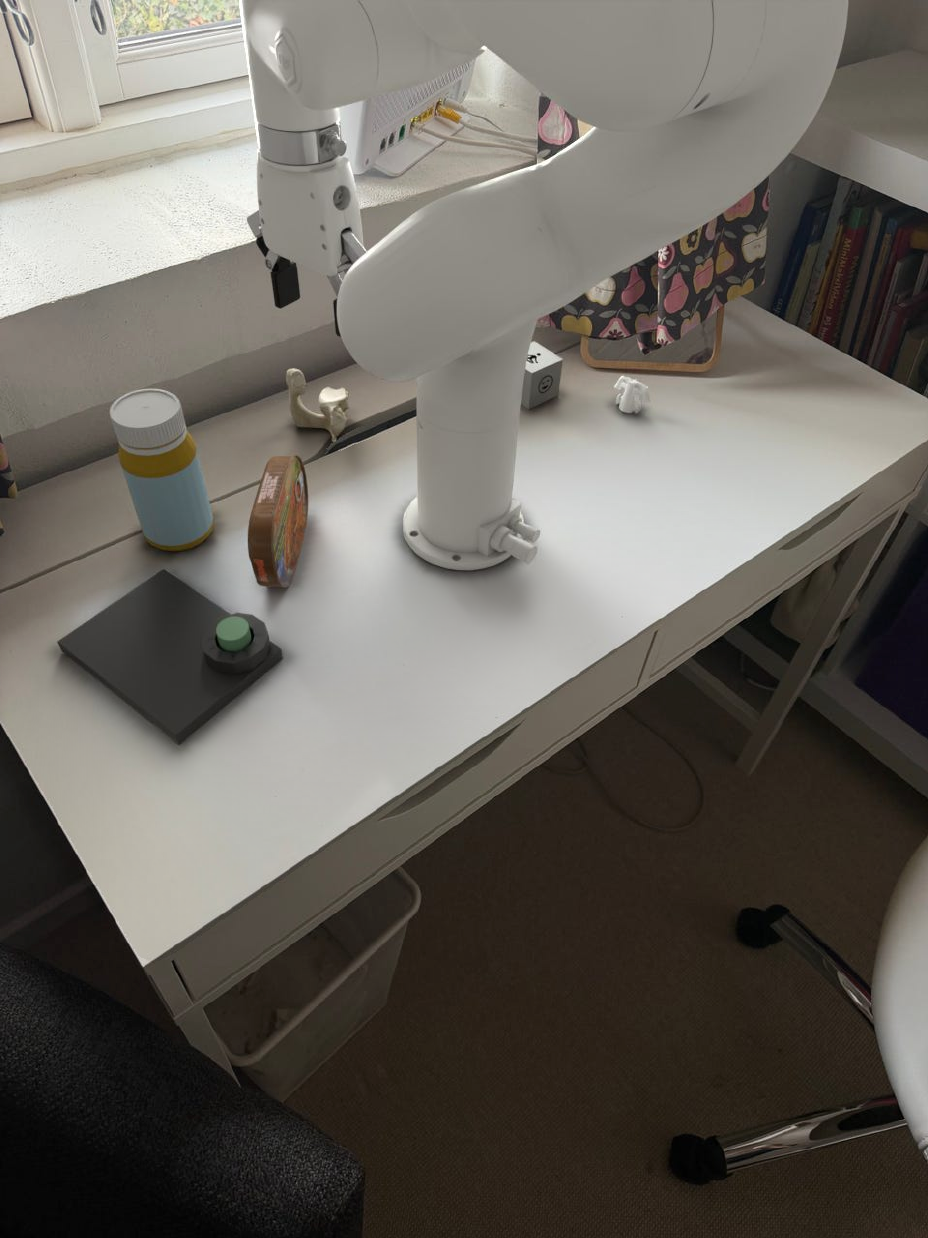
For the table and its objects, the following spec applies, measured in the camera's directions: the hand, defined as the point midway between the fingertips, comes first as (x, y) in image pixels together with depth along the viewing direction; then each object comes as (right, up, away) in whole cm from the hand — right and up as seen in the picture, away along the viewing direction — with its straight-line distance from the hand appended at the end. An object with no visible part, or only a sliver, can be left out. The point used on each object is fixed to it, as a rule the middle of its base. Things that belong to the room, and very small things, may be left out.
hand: (317, 316), depth 93 cm
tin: (-3, -25, -3) cm, 25 cm away
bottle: (-14, -23, -2) cm, 27 cm away
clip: (+35, -6, +15) cm, 39 cm away
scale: (-11, -35, -13) cm, 39 cm away
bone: (0, -9, +11) cm, 14 cm away
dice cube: (+23, -4, +17) cm, 29 cm away
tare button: (-5, -34, -15) cm, 37 cm away
